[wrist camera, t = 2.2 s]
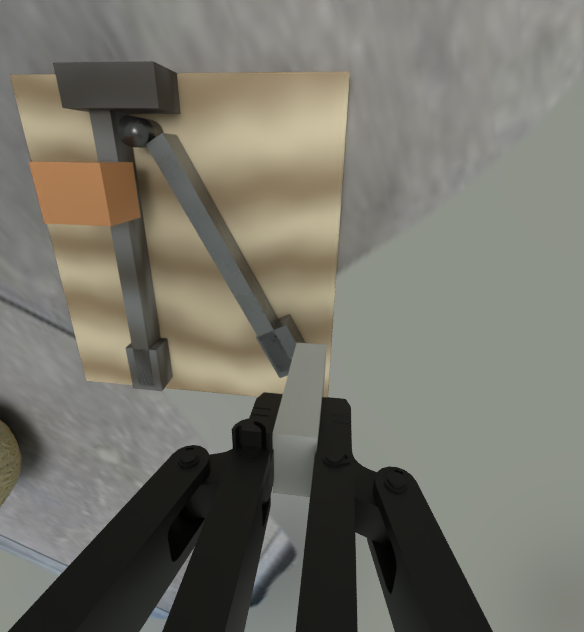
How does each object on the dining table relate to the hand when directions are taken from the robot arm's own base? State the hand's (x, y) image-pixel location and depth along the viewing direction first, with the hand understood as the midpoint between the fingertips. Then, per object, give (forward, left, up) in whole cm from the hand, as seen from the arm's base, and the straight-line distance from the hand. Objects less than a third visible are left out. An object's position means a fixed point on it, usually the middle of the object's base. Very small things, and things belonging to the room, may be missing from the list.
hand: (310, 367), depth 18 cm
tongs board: (-1, -12, -16) cm, 20 cm away
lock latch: (-7, -17, -12) cm, 22 cm away
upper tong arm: (-2, -8, -14) cm, 17 cm away
